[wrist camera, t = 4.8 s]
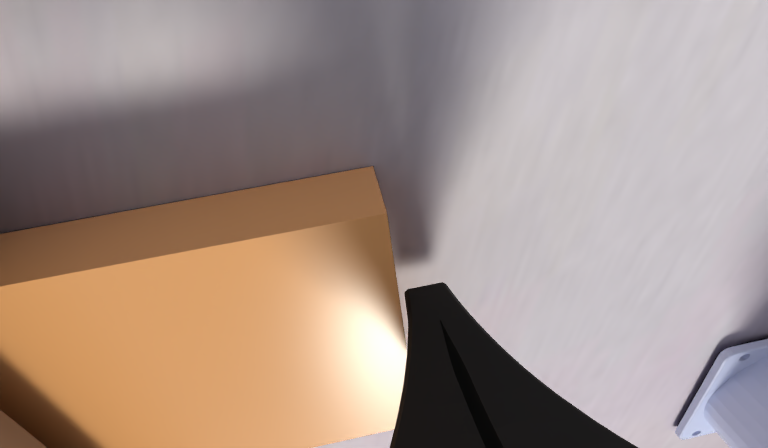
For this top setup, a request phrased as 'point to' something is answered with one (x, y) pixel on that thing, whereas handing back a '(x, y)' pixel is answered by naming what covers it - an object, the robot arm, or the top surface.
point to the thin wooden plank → (207, 321)
